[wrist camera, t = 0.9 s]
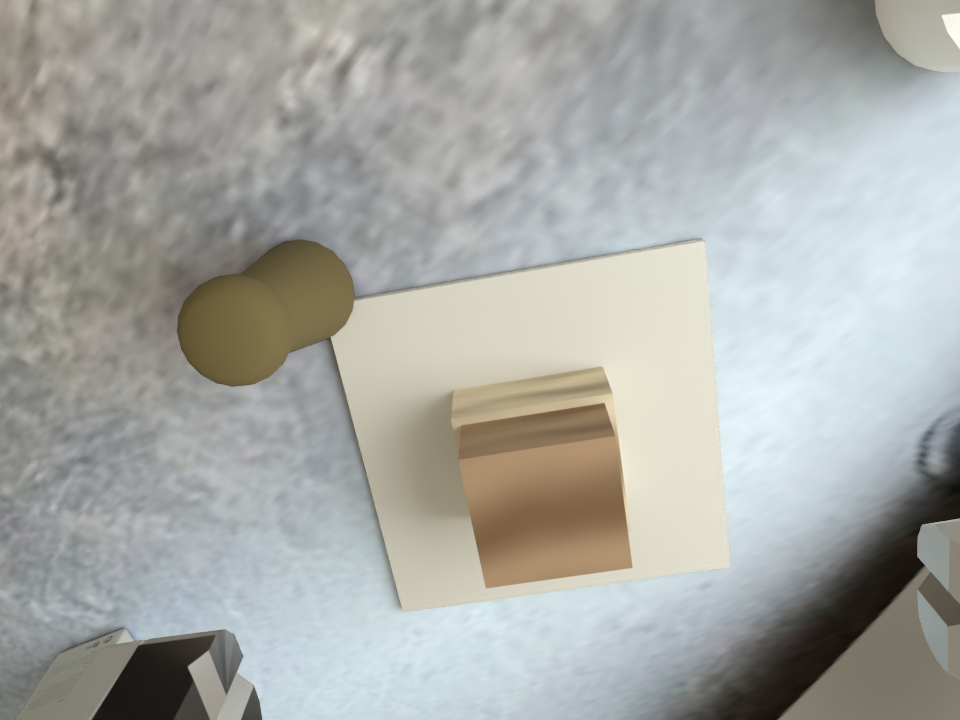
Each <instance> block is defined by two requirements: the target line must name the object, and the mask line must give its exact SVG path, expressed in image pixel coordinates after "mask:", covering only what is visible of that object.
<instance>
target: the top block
mask: <svg viewBox="0 0 960 720" xmlns="http://www.w3.org/2000/svg"><path fill="white" fill-rule="evenodd" d="M458 461H459V465H460V470H461V475H462V479H463V484H464V489H465V494H466V498H467V503H468V508H469V512H470V517H471V522H472V526H473V531H474V536H475V540H476V545H477V550H478V554H479V559H480V564H481V568H482V573H483V578H484V582H485V587H486V588H493V587H500V586H507V585H514V584H521V583H528V582H536V581H543V580H550V579H557V578H564V577H571V576H578V575H586V574H593V573H600V572H607V571H614V570H621V569H628V568H633V566H632V559H631V551H630V543H629V536H628V528H627V521H626V513H625V505H624V498H623V490H622V482H621V475H620V467H619V459H618V452H617V444H616V437H615V433H614V430H613V427H612V424H611V421H610V418H609V415H608V412H607V409H606V406H605V403H601V404H595V405H589V406H582V407H576V408H569V409H563V410H557V411H550V412H544V413H537V414H531V415H525V416H518V417H512V418H506V419H499V420H493V421H486V422H480V423H474V424H467V425H461V434H460V446H459V458H458Z"/></svg>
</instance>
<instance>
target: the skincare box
mask: <svg viewBox="0 0 960 720" xmlns="http://www.w3.org/2000/svg"><path fill="white" fill-rule="evenodd" d="M133 641H134V639H133V638H132V637H131V635H130V634H129V633H128V631H127V630H126V629H121V630H118V631H115V632H113V633H111V634H108V635H106V636H103V637H100V638H98V639H95V640H92V641H89V642H86V643H83V644H81V645H78V646H76V647H73V648H71V649H68V650H65V651H63V652H62V653H61V654H59V655H58V656H57V657H56V658H55V660H54V661H53V663H52V664H51V666H50V667H49V669H48V670H47V672H46V673H45V675H44V676H43V678H42V679H41V681H40V682H39V684H38V685H37V687H36V688H35V690H34V691H33V693H32V695H31V696H30V698H29V699H28V701H27V702H26V704H25V705H24V707H23V709H22V710H21V712H20V713H19V715H18V716H17V718H16V719H15V720H51V719H52V718H53V716H54V715H55V714H56V712H57V711H58V709H59V708H60V706H61V705H62V704H63V702H64V701H65V699H66V698H67V696H68V695H69V693H70V692H71V691H72V689H73V688H74V686H75V685H76V683H77V682H78V681H79V679H80V678H81V676H82V675H83V673H84V672H85V670H86V669H87V668H88V666H89V665H90V663H91V662H92V660H93V659H94V658H95V656H96V655H97V653H98V652H99V650H101V649H103V648H105V647H107V646H110V645H113V644H119V643H126V642H133Z"/></svg>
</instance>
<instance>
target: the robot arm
mask: <svg viewBox="0 0 960 720" xmlns="http://www.w3.org/2000/svg"><path fill="white" fill-rule="evenodd" d="M918 558H919V559H920V560H921V561H922V562H923V563H924V564H925V566H926V567H927V568H928V569H929V570H930V571H931V572H930V573H929V575H928V576H927V578H926V579H925V580H924V581H923V583H922V584H921V585H920V587H919V588H918V610H919V617H920V620H921V624H922V628H923V631H924V635H925V638H926V640H927V642H928V644H929V646H930V648H931V650H932V652H933V654H934V656H935V657H936V659H937V660H938V662H939V663H940V664H941V665H942V667H943V668H944V670H945V671H946V672H947V674H949V675H950V676H952V677H955V678H956V679H958V680H960V519H956V520H949V521H943V522H937V523H931V524H925V525H922V527H921V530H920V532H919V535H918ZM242 658H243V654H242V652H241V650H240V647H239V645H238V642H237V640H236V637H235V635H234V634H233V633H231V632H229V631H227V630H225V629H224V630H216V631H208V632H200V633H192V634H185V635H177V636H169V637H161V638H153V639H149V640H139V641H133V642H126V643H119V644H113V645H110V646H107V647H105V648H103V649H101V650H99V652H98V653H97V655H96V656H95V658H94V659H93V660H92V662H91V663H90V665H89V666H88V668H87V669H86V670H85V672H84V673H83V675H82V676H81V678H80V679H79V681H78V682H77V683H76V685H75V686H74V688H73V689H72V691H71V692H70V693H69V695H68V696H67V698H66V699H65V701H64V702H63V704H62V705H61V706H60V708H59V709H58V711H57V712H56V714H55V715H54V716H53V718H52V719H51V720H262V715H261V708H260V702H259V699H258V696H257V693H256V690H255V687H254V685H252V684H251V683H250V682H248V681H247V680H246V679H244V678H243V677H242V676H240V675H239V674H238V673H236V672H237V670H238V668H239V665H240V663H241V660H242Z"/></svg>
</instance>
